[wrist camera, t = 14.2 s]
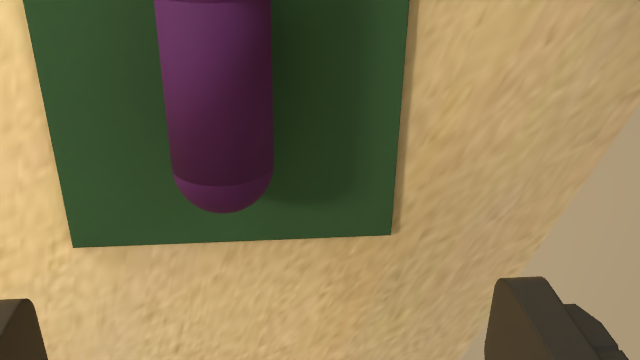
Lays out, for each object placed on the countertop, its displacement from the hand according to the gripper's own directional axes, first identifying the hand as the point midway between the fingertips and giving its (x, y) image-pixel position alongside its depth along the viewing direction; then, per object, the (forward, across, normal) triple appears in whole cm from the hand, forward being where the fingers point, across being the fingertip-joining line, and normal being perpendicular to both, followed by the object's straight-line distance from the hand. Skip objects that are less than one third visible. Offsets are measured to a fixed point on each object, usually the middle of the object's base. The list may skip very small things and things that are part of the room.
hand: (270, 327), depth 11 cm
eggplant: (+18, +2, +1) cm, 18 cm away
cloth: (+18, +2, +1) cm, 18 cm away
